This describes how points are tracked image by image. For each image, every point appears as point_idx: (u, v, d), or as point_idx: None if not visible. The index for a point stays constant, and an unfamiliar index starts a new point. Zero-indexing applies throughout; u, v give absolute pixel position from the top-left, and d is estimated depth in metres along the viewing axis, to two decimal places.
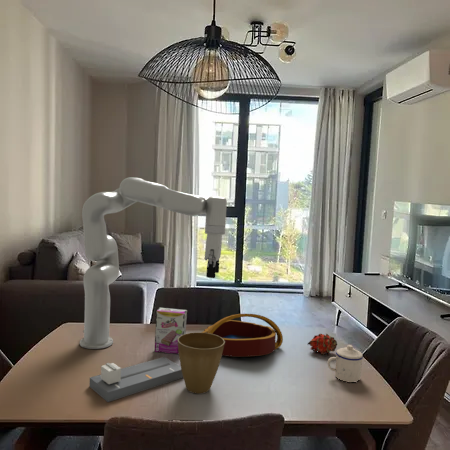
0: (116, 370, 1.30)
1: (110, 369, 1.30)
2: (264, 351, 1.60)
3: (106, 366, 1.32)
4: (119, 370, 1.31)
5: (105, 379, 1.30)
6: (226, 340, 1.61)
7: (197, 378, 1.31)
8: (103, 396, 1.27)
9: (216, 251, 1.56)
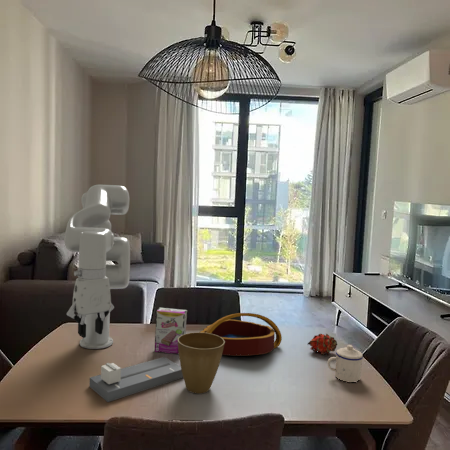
0: (116, 370, 1.30)
1: (110, 369, 1.30)
2: (263, 350, 1.61)
3: (106, 366, 1.32)
4: (119, 370, 1.31)
5: (105, 379, 1.30)
6: (225, 339, 1.62)
7: (197, 378, 1.31)
8: (103, 396, 1.27)
9: None
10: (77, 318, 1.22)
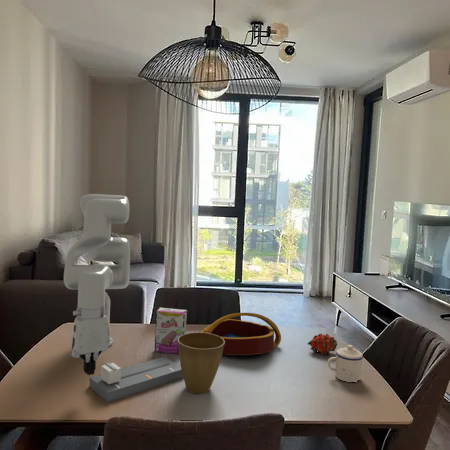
0: (116, 370, 1.30)
1: (110, 369, 1.30)
2: (262, 349, 1.62)
3: (106, 366, 1.32)
4: (119, 370, 1.31)
5: (105, 379, 1.30)
6: (224, 339, 1.62)
7: (197, 378, 1.31)
8: (103, 396, 1.27)
9: None
10: (83, 356, 1.24)
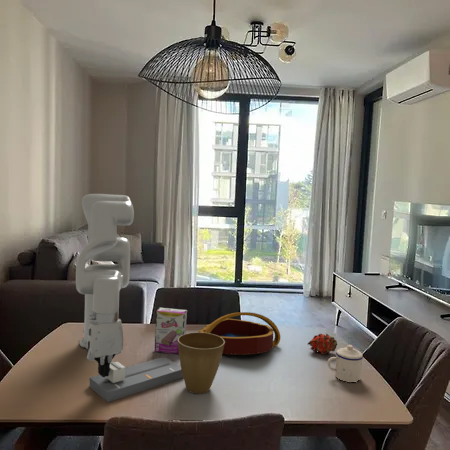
0: (121, 369, 1.31)
1: (115, 368, 1.31)
2: (261, 349, 1.62)
3: (111, 365, 1.33)
4: (123, 369, 1.32)
5: (110, 378, 1.32)
6: (224, 338, 1.63)
7: (197, 378, 1.31)
8: (103, 396, 1.27)
9: None
10: (98, 359, 1.28)
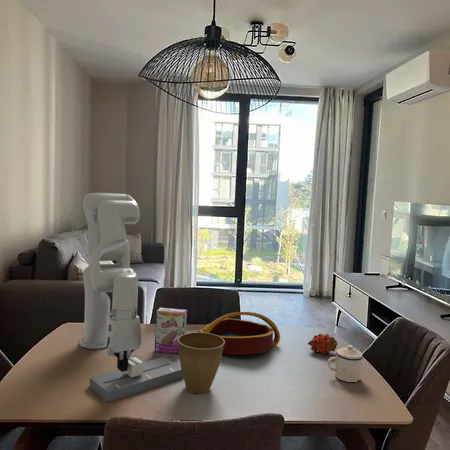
0: (139, 364, 1.36)
1: (133, 363, 1.36)
2: (261, 348, 1.62)
3: (129, 360, 1.37)
4: (141, 364, 1.36)
5: (128, 372, 1.36)
6: (223, 338, 1.63)
7: (197, 378, 1.31)
8: (103, 396, 1.27)
9: None
10: (117, 354, 1.32)
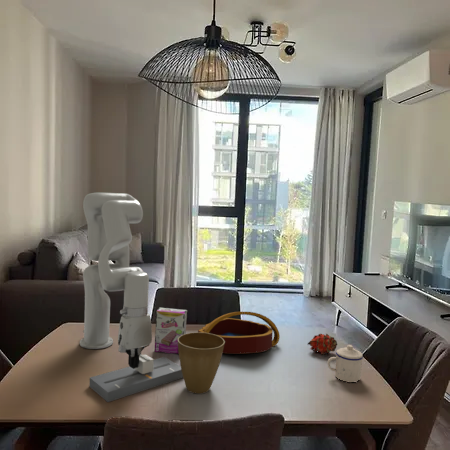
0: (149, 361, 1.38)
1: (144, 360, 1.38)
2: (260, 348, 1.63)
3: (139, 357, 1.40)
4: (152, 361, 1.39)
5: (139, 369, 1.39)
6: (223, 337, 1.63)
7: (197, 378, 1.31)
8: (103, 396, 1.27)
9: None
10: (128, 351, 1.35)
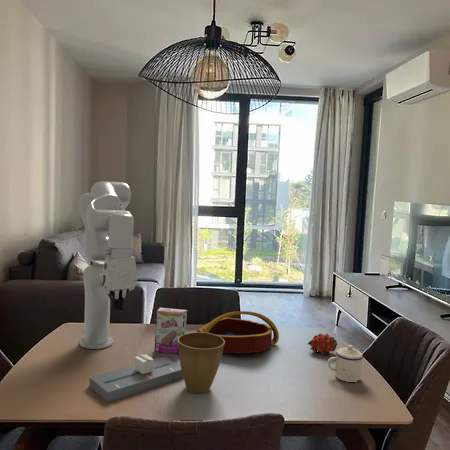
0: (149, 361, 1.38)
1: (144, 360, 1.38)
2: (260, 347, 1.63)
3: (139, 357, 1.40)
4: (152, 361, 1.39)
5: (139, 369, 1.39)
6: (222, 337, 1.64)
7: (197, 378, 1.31)
8: (103, 396, 1.27)
9: None
10: (112, 293, 1.33)
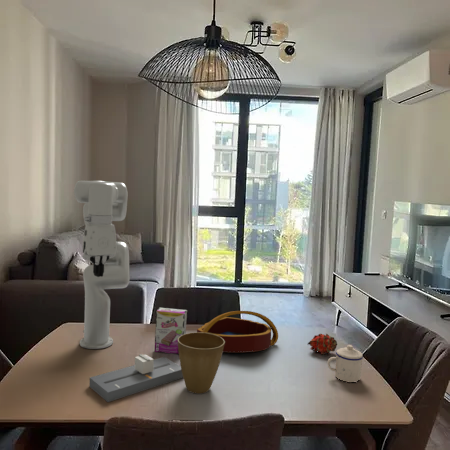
0: (149, 361, 1.38)
1: (144, 360, 1.38)
2: (259, 347, 1.64)
3: (139, 357, 1.40)
4: (152, 361, 1.39)
5: (139, 369, 1.39)
6: (222, 336, 1.65)
7: (197, 378, 1.31)
8: (103, 396, 1.27)
9: None
10: (93, 259, 1.38)
